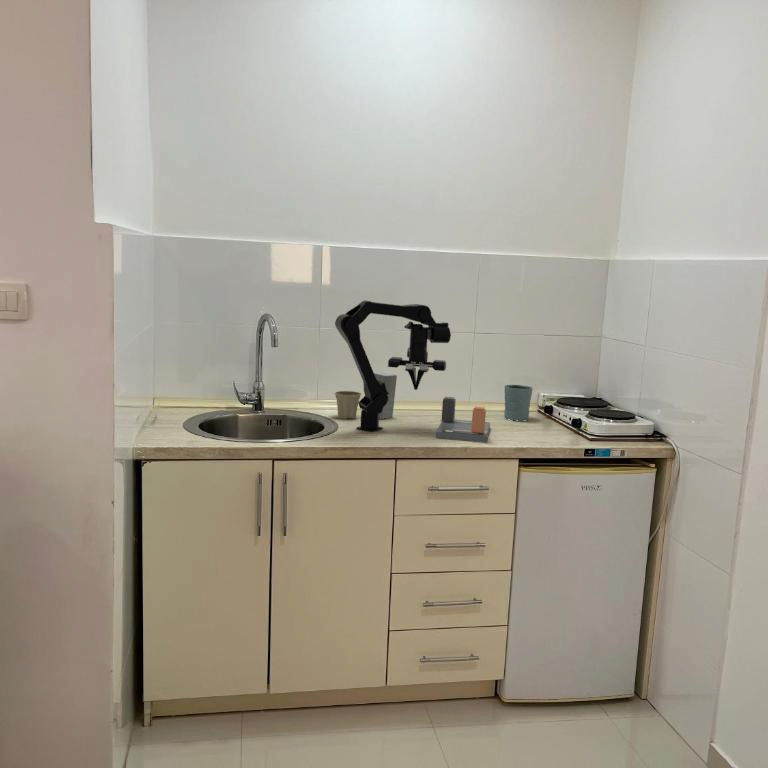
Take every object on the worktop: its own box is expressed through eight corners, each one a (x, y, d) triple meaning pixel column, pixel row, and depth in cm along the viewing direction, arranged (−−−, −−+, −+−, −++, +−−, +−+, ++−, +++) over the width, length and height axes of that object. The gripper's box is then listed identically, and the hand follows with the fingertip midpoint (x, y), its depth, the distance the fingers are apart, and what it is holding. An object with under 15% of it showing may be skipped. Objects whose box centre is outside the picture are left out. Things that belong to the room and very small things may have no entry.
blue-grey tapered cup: (508, 421, 274) (510, 388, 272) (497, 416, 283) (500, 384, 282) (534, 421, 276) (537, 389, 274) (523, 416, 286) (525, 384, 284)
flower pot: (336, 413, 273) (337, 389, 272) (362, 415, 272) (363, 391, 271) (331, 418, 264) (331, 394, 263) (357, 420, 263) (358, 396, 261)
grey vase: (364, 415, 272) (366, 371, 269) (377, 413, 277) (379, 370, 275) (382, 420, 266) (384, 375, 264) (395, 417, 272) (397, 373, 269)
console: (434, 437, 243) (434, 430, 243) (441, 424, 264) (441, 417, 264) (486, 442, 240) (486, 435, 240) (489, 428, 262) (490, 421, 261)
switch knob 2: (471, 431, 243) (472, 408, 241) (472, 429, 246) (473, 406, 245) (483, 433, 242) (485, 409, 241) (484, 430, 246) (486, 407, 245)
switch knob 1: (441, 420, 258) (442, 398, 257) (442, 418, 262) (444, 396, 261) (453, 421, 257) (454, 399, 256) (454, 419, 261) (455, 397, 260)
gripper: (449, 342, 258) (446, 388, 260) (394, 338, 261) (392, 383, 263) (445, 345, 247) (442, 393, 249) (388, 341, 250) (386, 388, 253)
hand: (415, 389), depth 254 cm, fingers closed
